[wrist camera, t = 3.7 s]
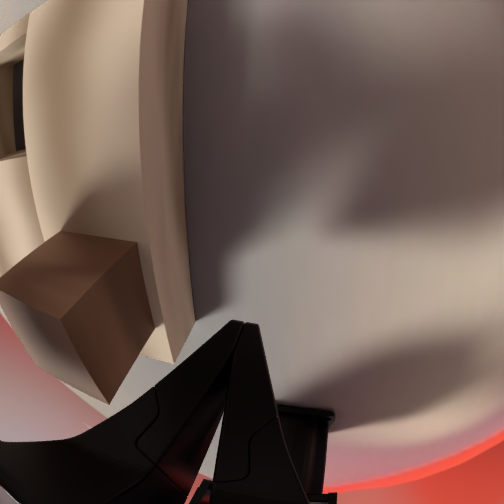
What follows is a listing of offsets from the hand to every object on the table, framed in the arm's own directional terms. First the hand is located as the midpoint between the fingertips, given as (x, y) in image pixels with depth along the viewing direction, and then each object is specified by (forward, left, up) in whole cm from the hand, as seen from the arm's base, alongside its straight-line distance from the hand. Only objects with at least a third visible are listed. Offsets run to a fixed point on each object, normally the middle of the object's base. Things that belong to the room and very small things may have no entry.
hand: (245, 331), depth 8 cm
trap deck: (+14, -4, -4) cm, 15 cm away
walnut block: (+6, 0, -1) cm, 6 cm away
